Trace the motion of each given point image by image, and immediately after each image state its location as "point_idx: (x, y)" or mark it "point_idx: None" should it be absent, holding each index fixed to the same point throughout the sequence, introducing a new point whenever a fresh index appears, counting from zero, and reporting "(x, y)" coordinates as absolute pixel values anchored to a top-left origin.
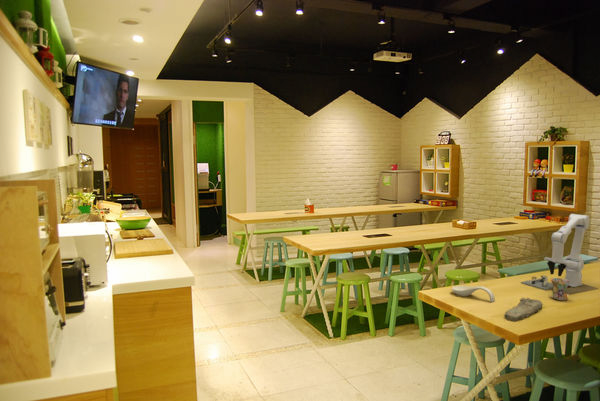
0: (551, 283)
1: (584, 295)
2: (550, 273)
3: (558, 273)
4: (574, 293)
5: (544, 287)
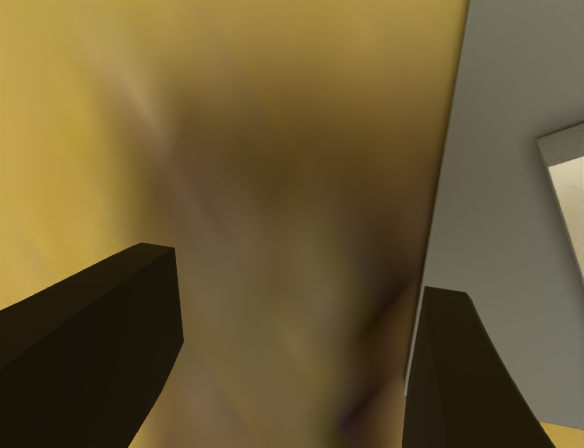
0: (554, 412)
1: (27, 248)
2: (473, 305)
3: (99, 283)
4: (127, 232)
5: (550, 68)
